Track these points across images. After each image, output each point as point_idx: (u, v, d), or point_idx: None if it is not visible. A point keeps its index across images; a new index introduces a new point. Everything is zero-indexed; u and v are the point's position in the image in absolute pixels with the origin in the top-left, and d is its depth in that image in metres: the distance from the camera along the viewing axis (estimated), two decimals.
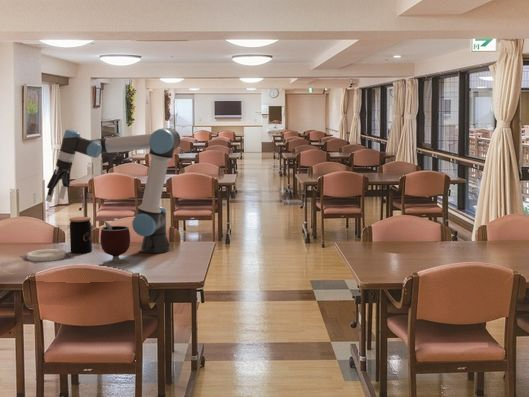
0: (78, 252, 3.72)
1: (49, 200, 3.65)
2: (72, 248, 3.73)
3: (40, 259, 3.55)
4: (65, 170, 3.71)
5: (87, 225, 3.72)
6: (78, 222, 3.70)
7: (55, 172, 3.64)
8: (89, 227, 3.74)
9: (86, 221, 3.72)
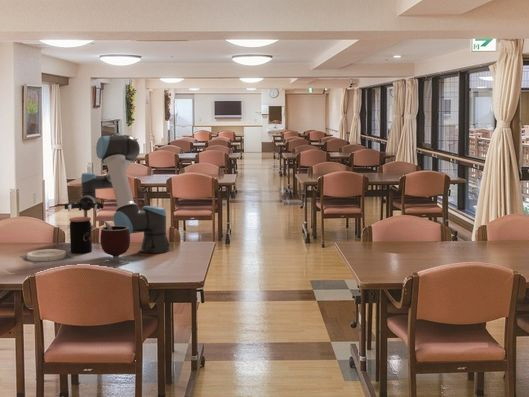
0: (78, 252, 3.72)
1: (68, 207, 3.84)
2: (72, 248, 3.73)
3: (40, 259, 3.55)
4: (87, 202, 4.00)
5: (87, 225, 3.72)
6: (78, 222, 3.70)
7: None
8: (89, 227, 3.74)
9: (86, 221, 3.72)
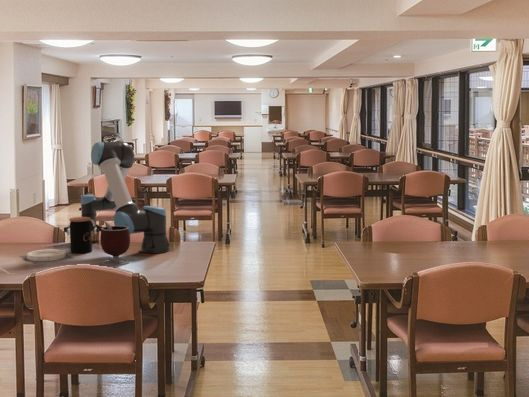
0: (78, 252, 3.72)
1: (67, 231, 3.81)
2: (72, 248, 3.73)
3: (40, 259, 3.55)
4: None
5: (87, 225, 3.72)
6: (78, 222, 3.70)
7: None
8: (89, 227, 3.74)
9: (86, 221, 3.72)
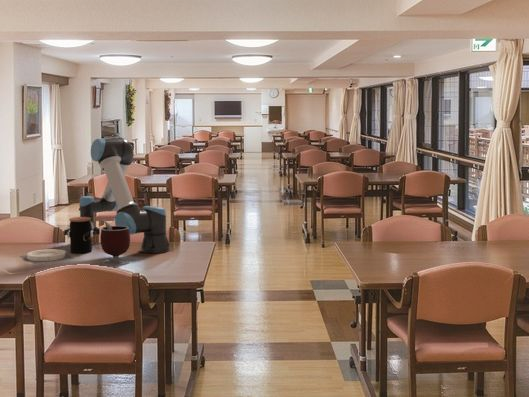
0: (78, 252, 3.72)
1: (67, 233, 3.73)
2: (72, 248, 3.73)
3: (40, 259, 3.55)
4: None
5: (87, 225, 3.72)
6: (78, 222, 3.70)
7: None
8: (89, 227, 3.74)
9: (86, 221, 3.72)
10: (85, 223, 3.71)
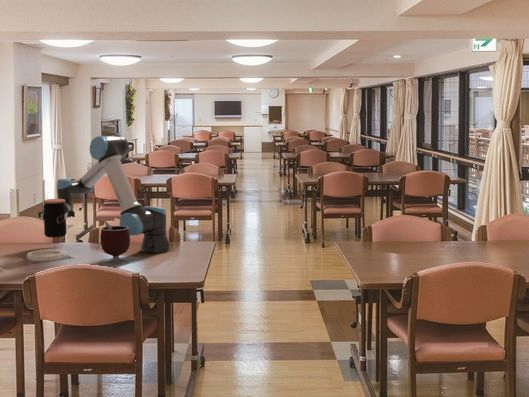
0: (51, 234, 3.63)
1: (41, 215, 3.64)
2: (46, 230, 3.64)
3: (40, 259, 3.55)
4: None
5: (61, 207, 3.63)
6: (51, 204, 3.61)
7: None
8: (63, 209, 3.65)
9: (60, 203, 3.63)
10: (59, 205, 3.63)
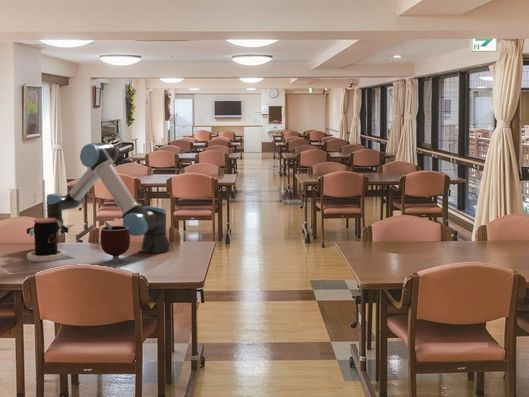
0: (42, 254, 3.59)
1: (29, 232, 3.60)
2: (36, 250, 3.60)
3: (40, 259, 3.55)
4: None
5: (52, 226, 3.59)
6: (42, 223, 3.57)
7: None
8: (54, 229, 3.61)
9: (51, 222, 3.59)
10: (50, 224, 3.58)
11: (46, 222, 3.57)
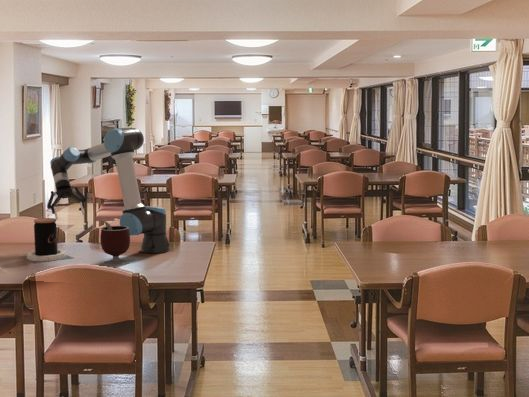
0: (42, 254, 3.59)
1: (55, 216, 3.78)
2: (36, 250, 3.60)
3: (40, 259, 3.55)
4: (65, 189, 3.87)
5: (52, 226, 3.59)
6: (42, 223, 3.57)
7: (51, 194, 3.85)
8: (54, 229, 3.61)
9: (51, 222, 3.59)
10: (50, 224, 3.58)
11: (46, 222, 3.57)
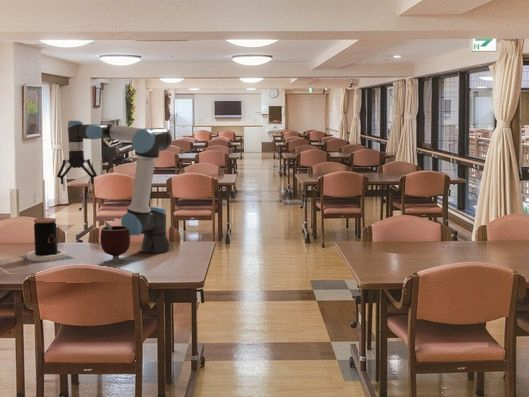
0: (42, 254, 3.59)
1: (63, 189, 3.86)
2: (36, 250, 3.60)
3: (40, 259, 3.55)
4: (77, 160, 3.84)
5: (52, 226, 3.59)
6: (42, 223, 3.57)
7: (63, 161, 3.85)
8: (54, 229, 3.61)
9: (51, 222, 3.59)
10: (50, 224, 3.58)
11: (46, 222, 3.57)
